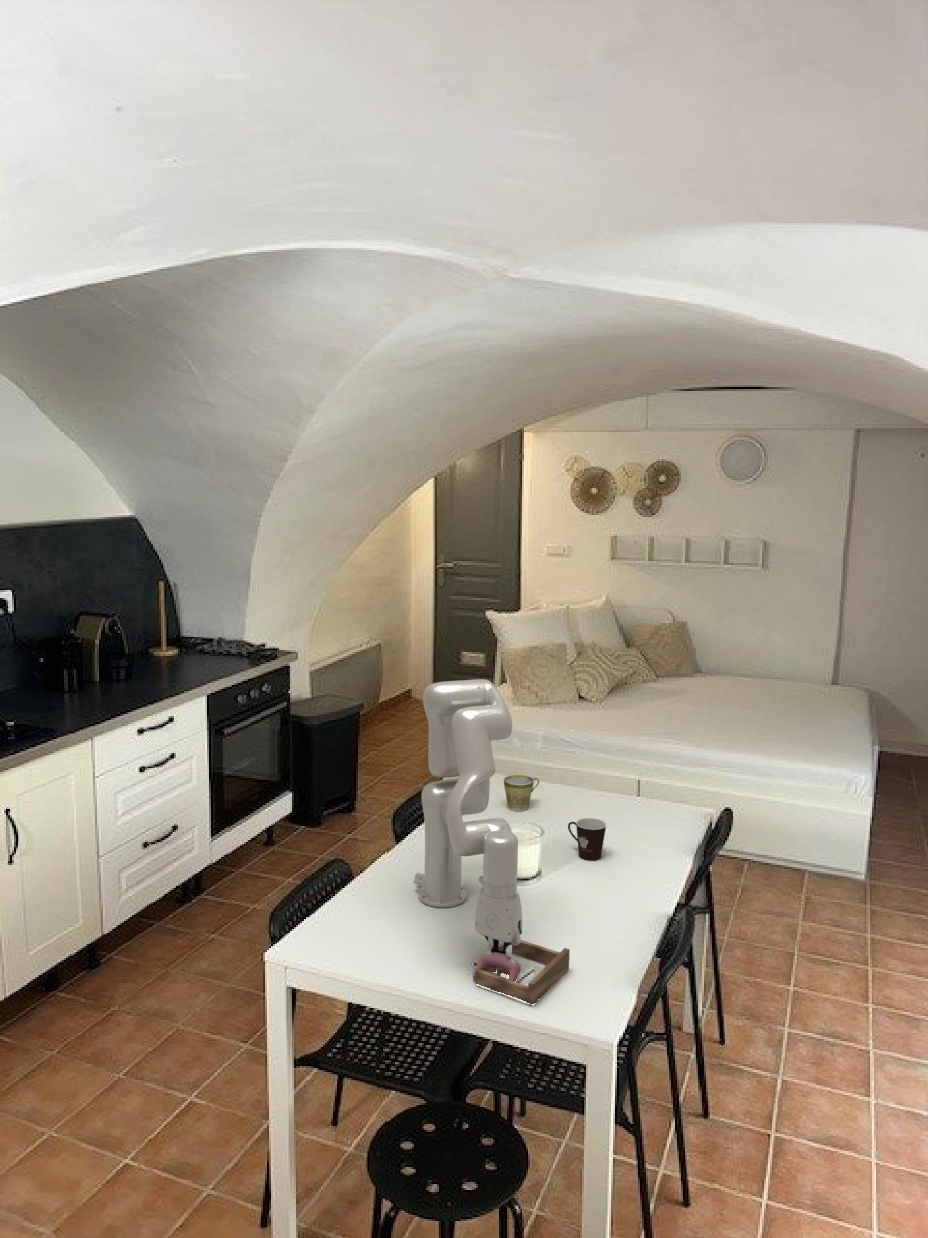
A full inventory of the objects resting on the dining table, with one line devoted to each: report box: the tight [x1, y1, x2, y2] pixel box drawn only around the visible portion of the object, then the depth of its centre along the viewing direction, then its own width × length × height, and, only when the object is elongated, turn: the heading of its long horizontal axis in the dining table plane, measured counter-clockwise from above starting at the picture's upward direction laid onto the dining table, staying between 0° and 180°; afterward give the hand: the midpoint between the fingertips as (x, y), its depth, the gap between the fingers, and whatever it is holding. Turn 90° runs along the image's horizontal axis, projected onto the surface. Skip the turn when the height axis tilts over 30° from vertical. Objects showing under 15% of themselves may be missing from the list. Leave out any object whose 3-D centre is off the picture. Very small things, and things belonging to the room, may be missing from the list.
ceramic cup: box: [503, 773, 540, 813], centre depth 303 cm, size 13×10×10 cm
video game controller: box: [472, 951, 522, 982], centre depth 200 cm, size 10×5×7 cm, turn 60°
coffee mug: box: [567, 817, 607, 862], centre depth 266 cm, size 12×9×10 cm
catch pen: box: [474, 939, 570, 1004], centre depth 202 cm, size 14×17×5 cm
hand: (498, 963), depth 205 cm, fingers closed
